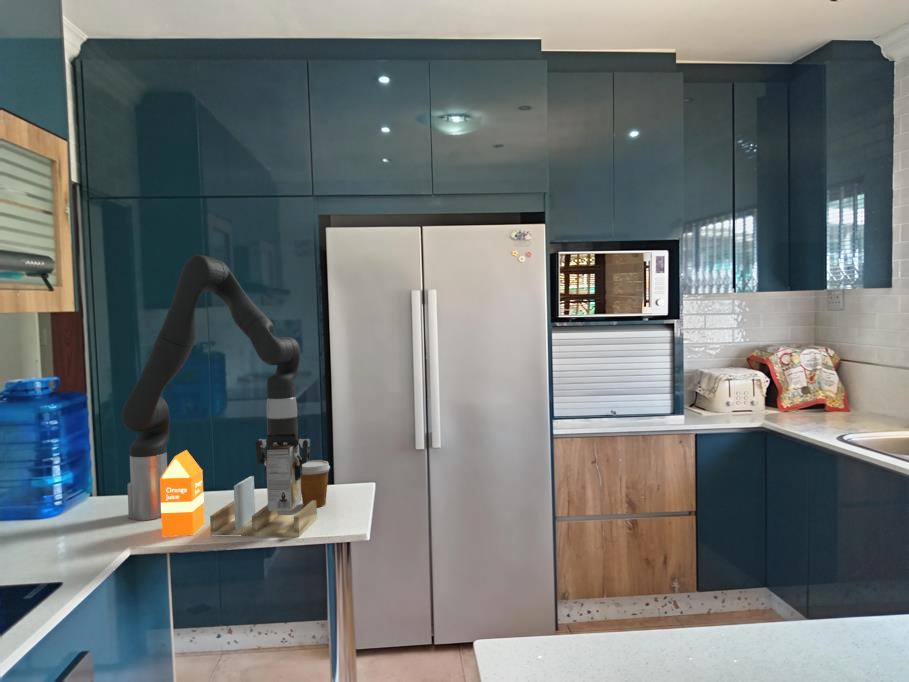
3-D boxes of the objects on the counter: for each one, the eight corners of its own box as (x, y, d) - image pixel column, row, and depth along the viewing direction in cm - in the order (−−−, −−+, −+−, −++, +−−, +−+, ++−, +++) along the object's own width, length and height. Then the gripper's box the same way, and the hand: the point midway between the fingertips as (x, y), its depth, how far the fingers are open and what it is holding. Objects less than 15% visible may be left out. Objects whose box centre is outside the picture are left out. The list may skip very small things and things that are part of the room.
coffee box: (277, 501, 170) (275, 440, 170) (302, 500, 170) (300, 440, 170) (267, 511, 161) (265, 447, 161) (292, 511, 161) (290, 447, 160)
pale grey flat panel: (235, 529, 162) (233, 486, 161) (251, 517, 172) (250, 476, 171) (239, 529, 162) (237, 486, 161) (255, 517, 172) (253, 476, 171)
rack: (210, 535, 160) (210, 516, 160) (235, 518, 174) (234, 500, 174) (299, 536, 158) (298, 516, 158) (316, 519, 172) (316, 500, 172)
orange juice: (204, 524, 170) (202, 448, 169) (193, 535, 161) (190, 456, 160) (174, 525, 169) (171, 450, 169) (161, 536, 160) (158, 457, 160)
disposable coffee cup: (327, 509, 181) (326, 467, 180) (293, 510, 181) (292, 467, 180) (334, 500, 190) (333, 459, 190) (302, 500, 190) (300, 460, 190)
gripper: (248, 417, 162) (251, 483, 162) (304, 417, 160) (306, 483, 161) (260, 413, 169) (262, 476, 170) (314, 412, 168) (316, 476, 168)
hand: (284, 479), depth 165 cm, fingers closed on coffee box, 6 cm apart
